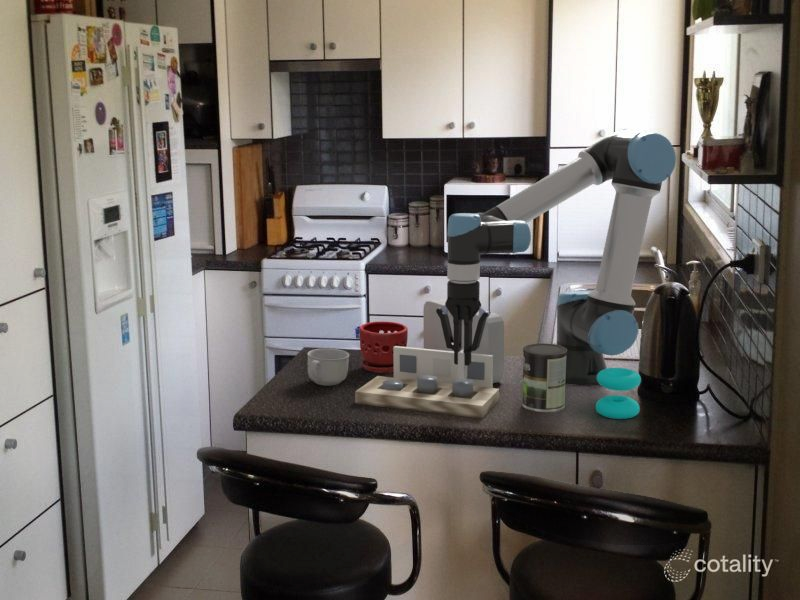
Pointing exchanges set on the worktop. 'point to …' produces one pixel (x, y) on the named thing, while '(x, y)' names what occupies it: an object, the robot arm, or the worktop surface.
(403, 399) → the button board
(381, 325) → the plant pot
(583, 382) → the robot arm
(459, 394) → the button
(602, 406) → the donuts
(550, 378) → the coffee can
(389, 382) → the button
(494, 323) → the rounded white slab
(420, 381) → the button centre
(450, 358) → the pattern card
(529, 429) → the worktop surface
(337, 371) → the teacup
